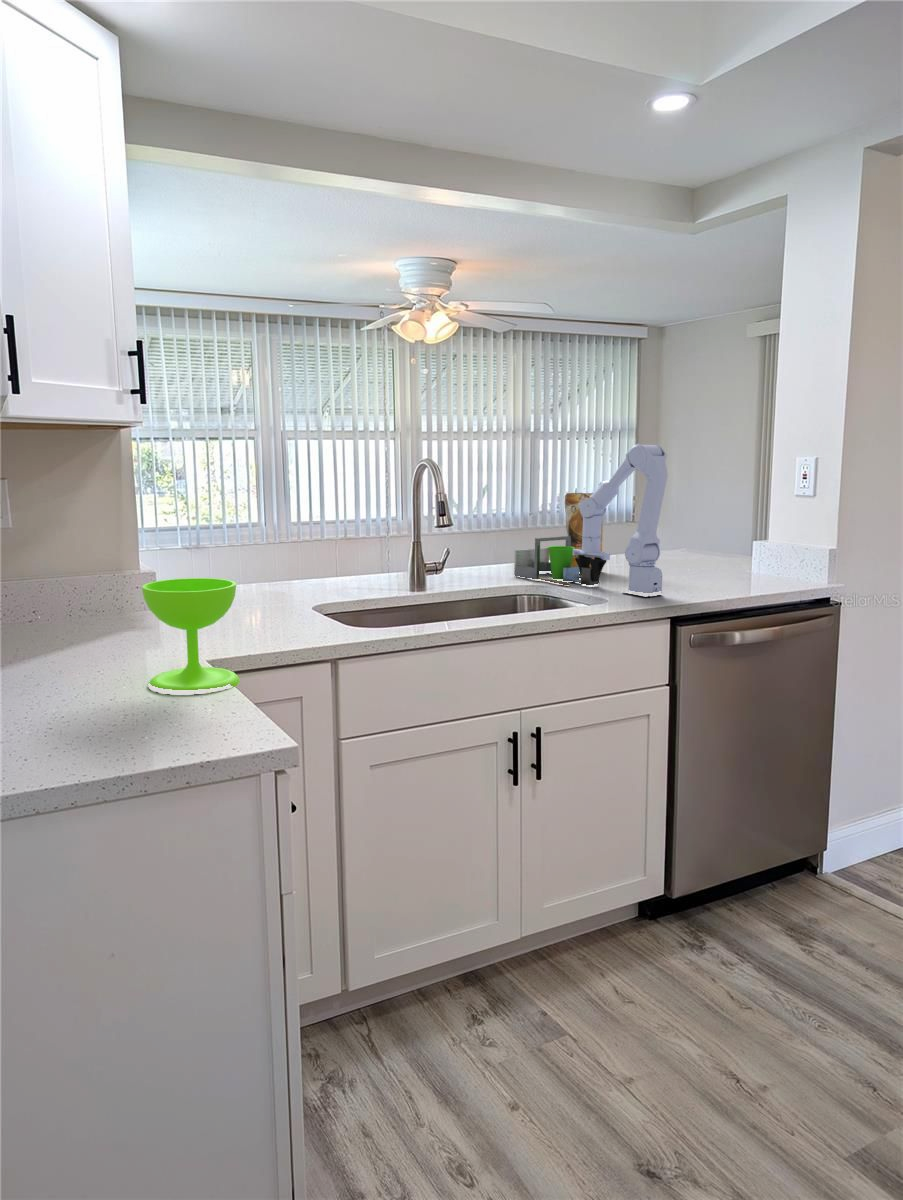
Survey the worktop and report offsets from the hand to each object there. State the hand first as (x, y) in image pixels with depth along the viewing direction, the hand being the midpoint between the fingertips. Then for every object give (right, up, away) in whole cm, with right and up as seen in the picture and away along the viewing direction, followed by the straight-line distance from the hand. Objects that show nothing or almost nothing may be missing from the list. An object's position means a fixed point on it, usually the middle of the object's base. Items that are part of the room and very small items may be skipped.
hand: (589, 580), depth 265 cm
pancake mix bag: (+2, +3, +29) cm, 30 cm away
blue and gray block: (-2, -1, +3) cm, 4 cm away
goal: (-13, +2, +19) cm, 23 cm away
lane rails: (-6, 0, +8) cm, 10 cm away
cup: (-8, 0, +11) cm, 14 cm away
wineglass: (-90, -21, -113) cm, 147 cm away
